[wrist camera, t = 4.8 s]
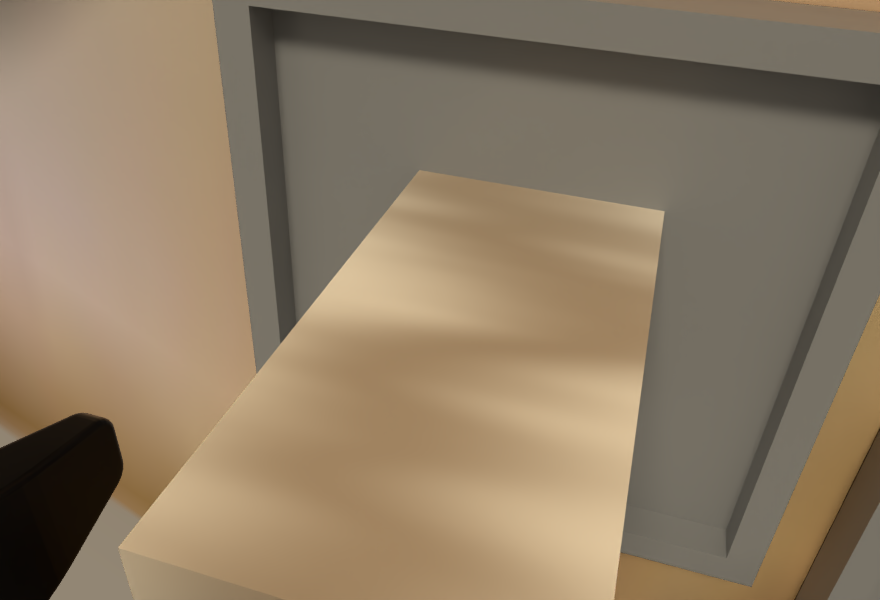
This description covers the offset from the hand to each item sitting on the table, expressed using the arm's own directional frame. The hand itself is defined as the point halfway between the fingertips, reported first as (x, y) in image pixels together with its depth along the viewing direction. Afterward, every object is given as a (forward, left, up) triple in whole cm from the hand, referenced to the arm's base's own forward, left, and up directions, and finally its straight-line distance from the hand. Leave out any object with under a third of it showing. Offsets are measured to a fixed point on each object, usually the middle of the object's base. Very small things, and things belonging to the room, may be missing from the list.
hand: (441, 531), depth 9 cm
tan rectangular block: (0, 0, -5) cm, 5 cm away
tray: (0, 0, -6) cm, 6 cm away
